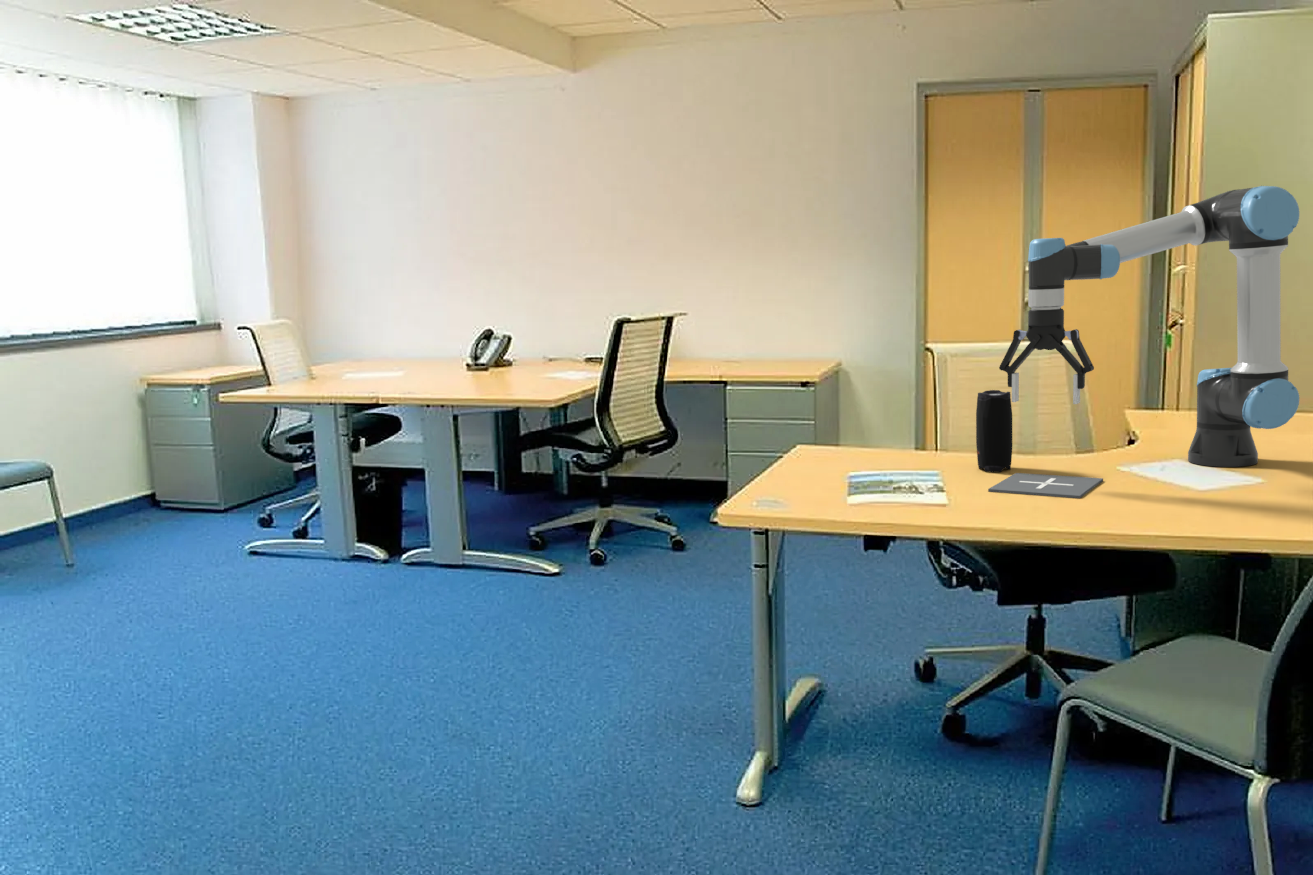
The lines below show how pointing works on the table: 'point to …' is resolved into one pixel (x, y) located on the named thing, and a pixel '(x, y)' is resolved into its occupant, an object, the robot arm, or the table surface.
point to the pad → (1046, 485)
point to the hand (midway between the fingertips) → (1045, 402)
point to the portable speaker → (994, 430)
